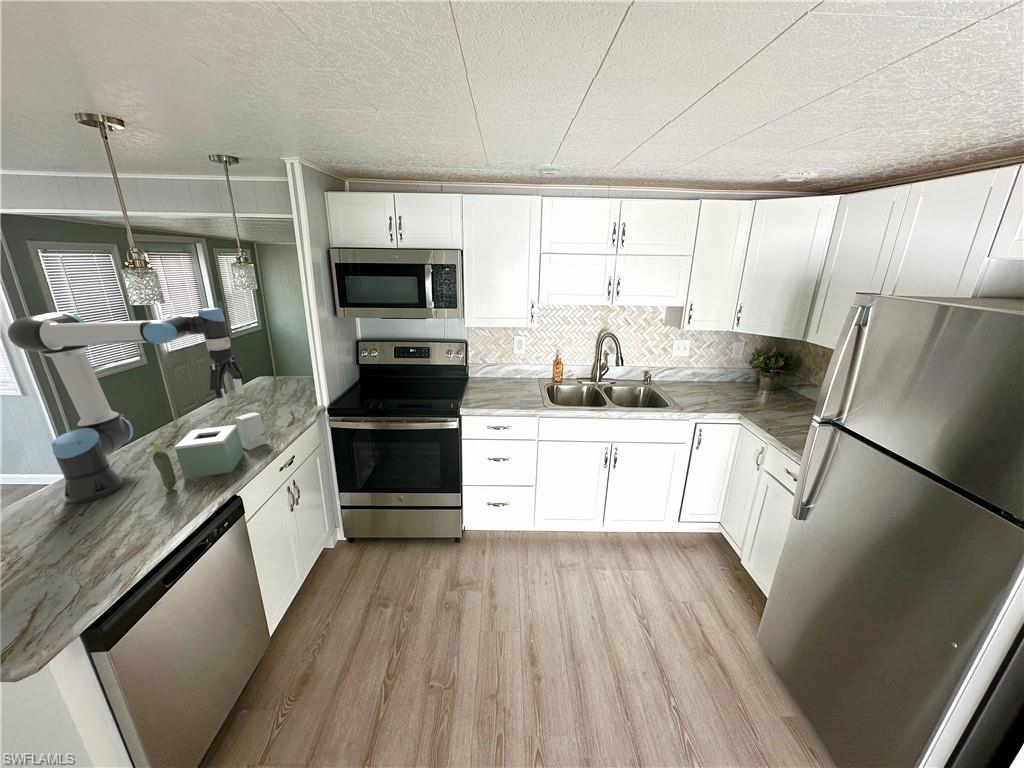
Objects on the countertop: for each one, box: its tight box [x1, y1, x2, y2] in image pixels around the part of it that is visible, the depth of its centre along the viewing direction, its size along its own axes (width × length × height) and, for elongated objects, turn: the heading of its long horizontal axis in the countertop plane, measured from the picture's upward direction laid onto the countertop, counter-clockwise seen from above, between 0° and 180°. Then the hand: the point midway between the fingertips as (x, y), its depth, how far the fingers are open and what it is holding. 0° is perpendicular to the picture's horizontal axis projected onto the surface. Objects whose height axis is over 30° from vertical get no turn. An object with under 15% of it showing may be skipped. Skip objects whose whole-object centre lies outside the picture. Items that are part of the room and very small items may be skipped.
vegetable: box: [149, 442, 177, 491], centre depth 146 cm, size 4×4×20 cm
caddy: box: [174, 424, 245, 480], centre depth 164 cm, size 16×16×14 cm
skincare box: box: [234, 411, 267, 451], centre depth 181 cm, size 8×6×15 cm
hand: (231, 399), depth 163 cm, fingers open, 13 cm apart
